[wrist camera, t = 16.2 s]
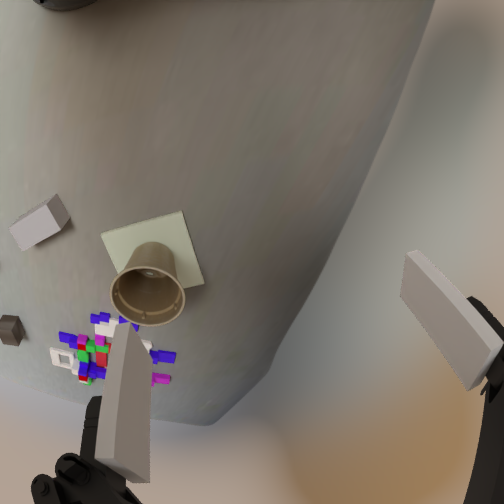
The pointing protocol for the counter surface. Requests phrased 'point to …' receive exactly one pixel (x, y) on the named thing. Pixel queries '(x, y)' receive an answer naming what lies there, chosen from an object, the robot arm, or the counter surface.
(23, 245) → the grey block
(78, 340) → the building block set
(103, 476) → the robot arm
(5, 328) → the dark block
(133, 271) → the flower pot
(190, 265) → the coaster
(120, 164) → the counter surface
